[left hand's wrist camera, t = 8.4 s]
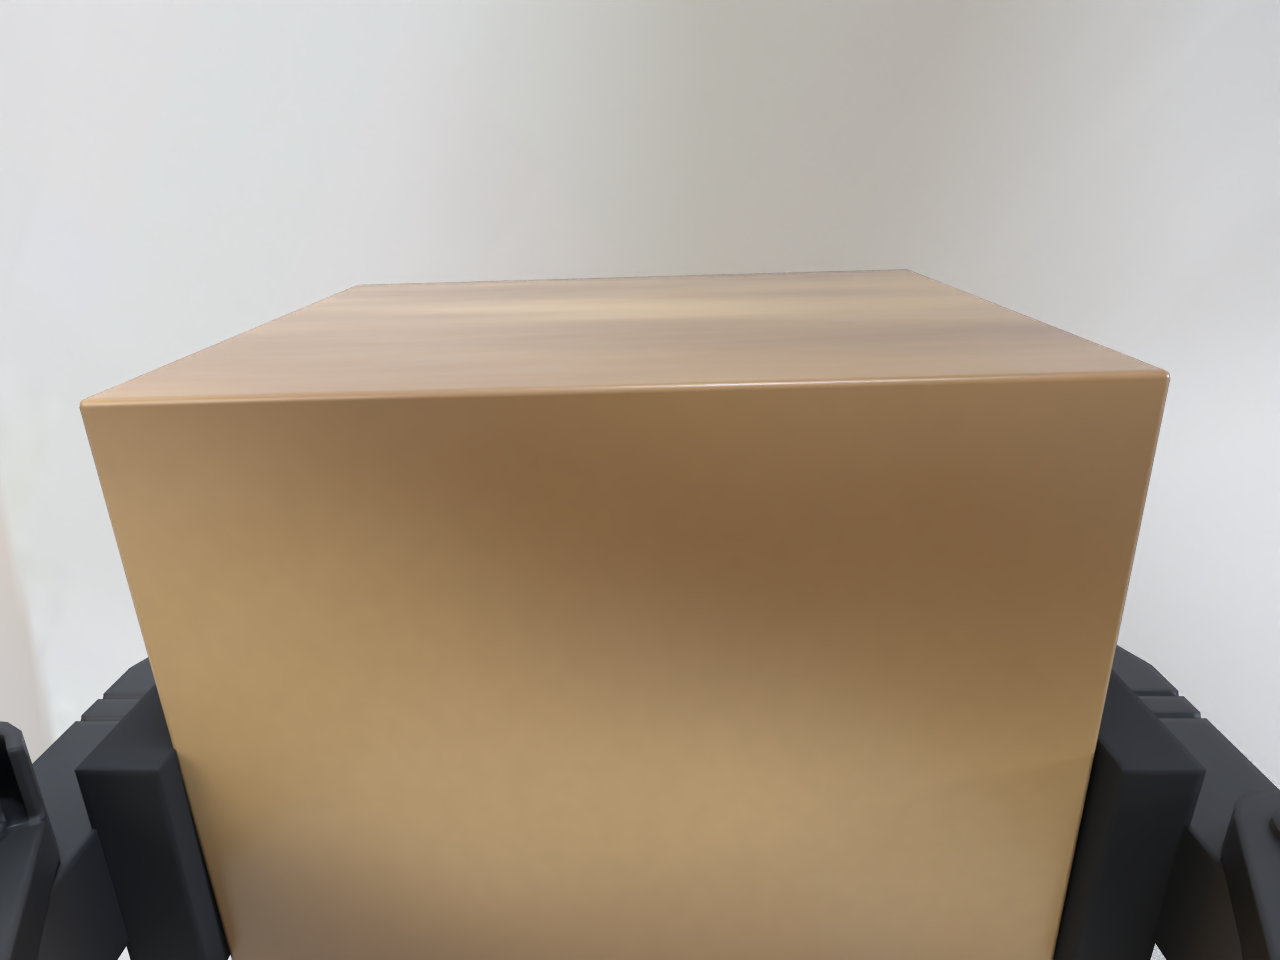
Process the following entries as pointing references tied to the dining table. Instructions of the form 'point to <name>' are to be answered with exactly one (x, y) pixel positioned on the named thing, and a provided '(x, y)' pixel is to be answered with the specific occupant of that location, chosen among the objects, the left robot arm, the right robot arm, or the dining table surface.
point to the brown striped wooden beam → (635, 614)
